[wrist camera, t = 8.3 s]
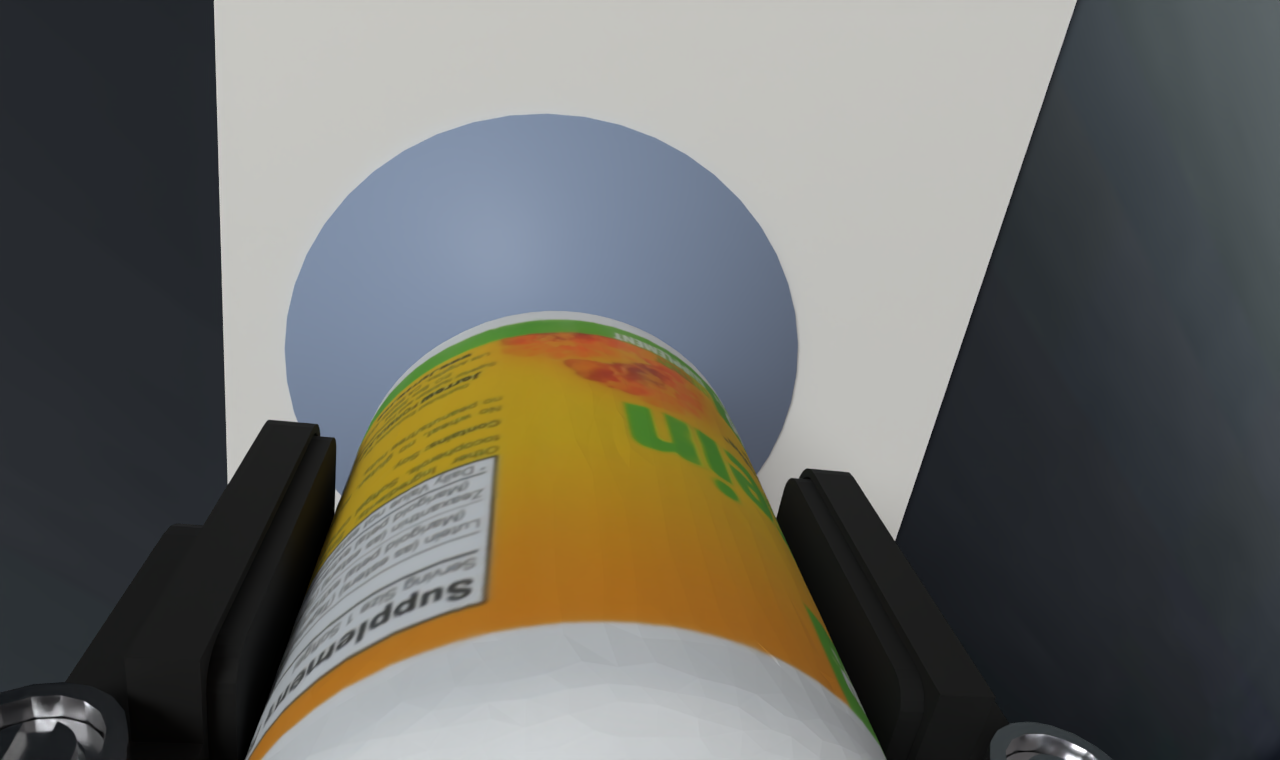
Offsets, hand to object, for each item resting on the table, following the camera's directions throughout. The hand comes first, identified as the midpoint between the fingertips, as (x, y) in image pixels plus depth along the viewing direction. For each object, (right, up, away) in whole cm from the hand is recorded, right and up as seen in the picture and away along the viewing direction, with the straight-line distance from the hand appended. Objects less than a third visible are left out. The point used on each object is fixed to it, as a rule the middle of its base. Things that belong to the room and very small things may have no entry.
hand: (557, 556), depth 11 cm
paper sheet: (+1, +5, +4) cm, 7 cm away
